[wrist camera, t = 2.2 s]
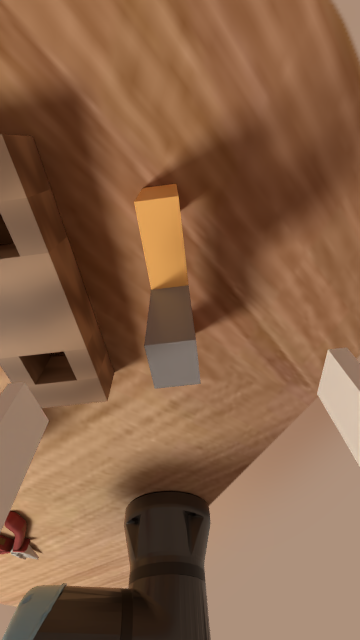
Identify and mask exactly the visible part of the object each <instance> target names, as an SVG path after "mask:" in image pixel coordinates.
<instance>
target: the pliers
mask: <svg viewBox="0 0 360 640" xmlns="http://www.w3.org/2000/svg"><path fill="white" fill-rule="evenodd" d="M5 526H6V528H8V529H9V530H10V531H12V532H13V533H14V535H15V540H14V539H11V538H8V537H5V536H2V535H0V554H5V553H7V554H8V553H10V552H11V554H12V555H14V556H16V557H19V558H22V559H25V560H26V557H27V558H33V559H38V558H39V557H38V556H37V554H36V553H35V552H34V550H33V549H32V548H31V546H30V545H29V542H30V539H29V538H24V537H25V533H26V528H27V524H26V521H25V520H24V519H23V518H22V517H21V516H20V515H19V514H18V513H16V512H13V511H10V512H9V514H8V516H7V519H6V521H5Z"/></svg>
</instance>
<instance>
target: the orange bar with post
mask: <svg viewBox="0 0 360 640" xmlns="http://www.w3.org/2000/svg"><path fill="white" fill-rule="evenodd" d="M134 204H135V209H136V214H137V219H138V225H139V230H140V235H141V240H142V245H143V250H144V255H145V260H146V265H147V270H148V275H149V281H150V286H151V296H150V304H149V312H148V320H147V328H146V336H145V344H144V346H145V350H146V355H147V359H148V363H149V367H150V371H151V375H152V379H153V383H154V387H155V389H156V388H165V387H175V386H184V385H193V384H201V383H200V374H199V364H198V355H197V346H196V337H195V330H194V323H193V315H192V308H191V301H190V293H189V286H188V277H187V268H186V259H185V250H184V241H183V232H182V223H181V215H180V206H179V197H178V191H177V186H176V184H169V185H161V186H154V187H147V188H143V189H142V190H141V192H140V193H139V195H138V197H137V198H136V200H135V201H134Z"/></svg>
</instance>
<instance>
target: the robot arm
mask: <svg viewBox="0 0 360 640" xmlns="http://www.w3.org/2000/svg"><path fill="white" fill-rule="evenodd" d="M317 394H318V396H319V398H320V399H321V401H322V403H323V404H324V406H325V408H326V410H327V412H328V413H329V415H330V417H331V418H332V420H333V421H334V424H335V425H336V427H337V429H338V430H339V432H340V434H341V435H342V437H343V439H344V441H345V443H346V444H347V446H348V448H349V449H350V451H351V453H352V455H353V456H354V458H355V460H356V462H357V463H358V465H359V467H360V363H359V361H358V360H357V359H356V358H355V357H354V356H353V354H352V353H351V352H350V351H349V350H348V348H338V349H329V350H328V352H327V356H326V360H325V364H324V368H323V372H322V376H321V380H320V384H319V388H318V392H317ZM48 422H49V420H48V418H47V417H46V415H45V413H44V412H43V410H42V409H41V407H40V405H39V404H38V402H37V401H36V399H35V398H34V396H33V394H32V393H31V391H30V390H29V388H28V386H27V385H26V383H25V382H20V383H11V384H7V386H6V387H5V389H4V390H3V392H2V393H1V395H0V532H1V530H2V528H3V525H4V523H5V521H6V519H7V516H8V514H9V512H10V509H11V507H12V505H13V502H14V500H15V498H16V496H17V493H18V491H19V489H20V486H21V484H22V482H23V479H24V477H25V475H26V473H27V470H28V468H29V466H30V463H31V461H32V459H33V456H34V454H35V452H36V450H37V447H38V445H39V443H40V440H41V438H42V436H43V433H44V431H45V429H46V427H47V424H48ZM124 528H125V534H126V541H127V548H128V554H129V561H130V578H129V588H128V589H123V588H104V587H79V586H66V583H63V584H62V585H41V586H36V587H34V588H32V589H31V590H30V591H28V592H27V593H26V595H25V596H24V597H23V599H22V600H21V602H20V603H19V605H18V607H17V609H16V611H15V613H14V615H13V617H12V619H11V621H10V623H9V626H8V628H7V630H6V632H5V634H4V637H3V639H2V640H210V629H209V618H208V607H207V596H206V584H205V573H204V560H205V554H206V548H207V541H208V535H209V529H210V513H209V507H208V505H207V503H206V502H205V501H204V500H202V499H201V498H199V497H197V496H194V495H191V494H187V493H181V492H159V493H153V494H148V495H145V496H142V497H139V498H137V499H135V500H134V501H132V502H131V503H130V504H129V505H128V506H127V508H126V513H125V521H124Z"/></svg>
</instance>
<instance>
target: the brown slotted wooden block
mask: <svg viewBox="0 0 360 640" xmlns="http://www.w3.org/2000/svg"><path fill="white" fill-rule="evenodd" d="M0 213H1V216H2V218H3V220H4V222H5V224H6V226H7V229H8V231H9V233H10V235H11V237H12V240H13V242H14V243H13V244H6V245H0V366H1V367H2V369H3V370H4V372H5V373H6V375H7V376H8V378H9V379H10V381H11V382H12V383H20V382H25V383H26V385H27V386H28V388H29V390H30V391H31V393H32V394H33V396H34V398H35V399H36V401H37V402H38V404H39V405H40V407H41V408H49V407H58V406H68V405H77V404H86V403H95V402H105V401H108V397H109V392H110V388H111V384H112V380H113V376H114V370H113V368H112V365H111V362H110V359H109V356H108V353H107V350H106V347H105V344H104V341H103V339H102V336H101V333H100V330H99V327H98V324H97V321H96V318H95V315H94V313H93V310H92V307H91V304H90V301H89V298H88V295H87V292H86V289H85V286H84V284H83V281H82V278H81V275H80V272H79V269H78V266H77V263H76V260H75V257H74V255H73V252H72V249H71V246H70V243H69V240H68V237H67V234H66V231H65V229H64V226H63V223H62V220H61V217H60V214H59V211H58V208H57V205H56V202H55V200H54V197H53V194H52V191H51V188H50V185H49V182H48V179H47V176H46V173H45V171H44V168H43V165H42V162H41V159H40V156H39V153H38V150H37V147H36V145H35V142H34V139H33V136H22V135H8V134H0ZM62 351H64V353H65V355H62V356H53V357H51V356H50V354H49V353H54V352H62Z"/></svg>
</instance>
